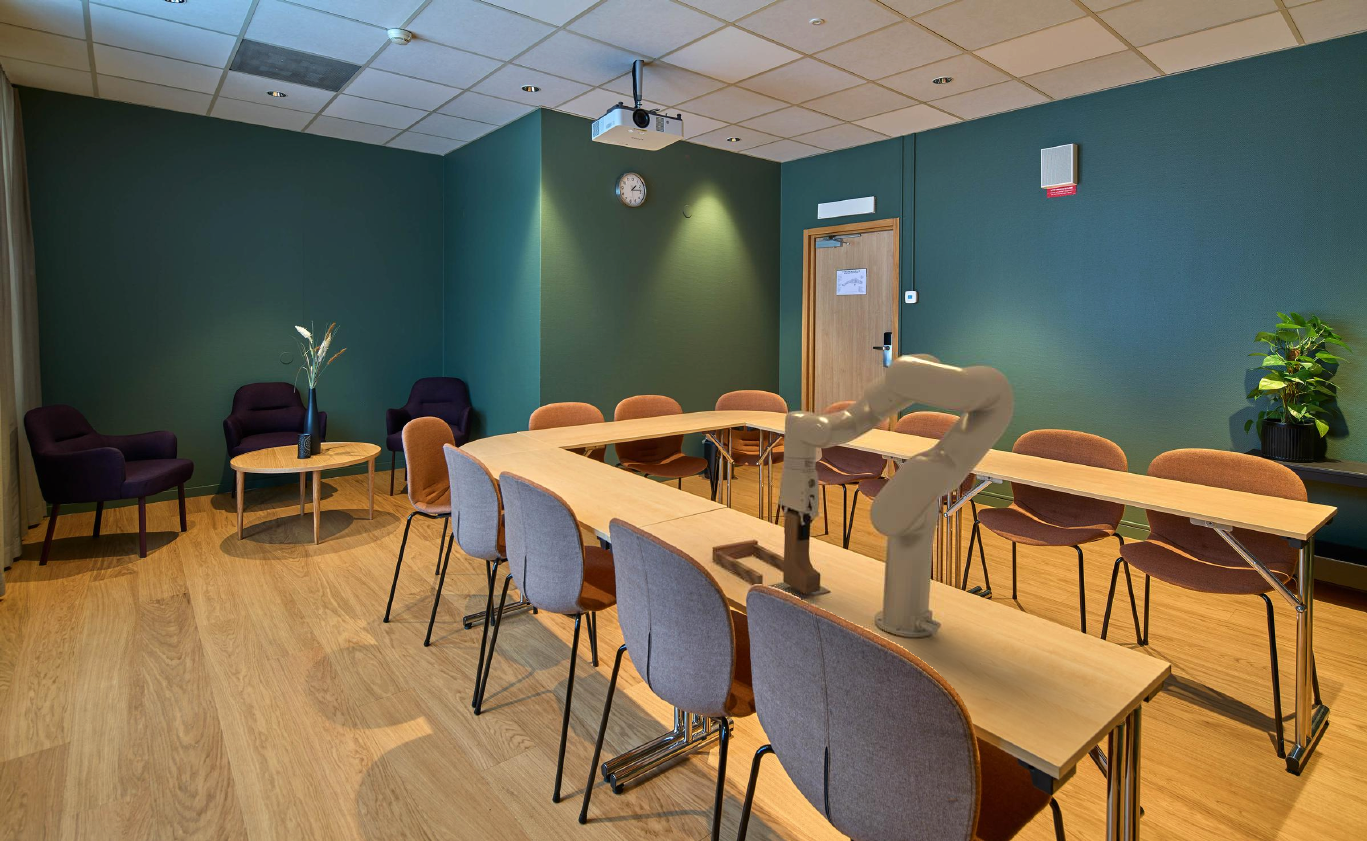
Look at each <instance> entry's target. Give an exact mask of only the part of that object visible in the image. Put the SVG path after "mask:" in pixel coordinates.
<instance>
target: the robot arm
mask: <svg viewBox="0 0 1367 841" xmlns="http://www.w3.org/2000/svg"><path fill="white" fill-rule="evenodd" d="M886 368H887V369H886V370H885V373H884V374H882V375H881V376H879V377H878V378H876V379H875V380H872V381H870V383H868V384H866V385H865V387H864V390H863V396H862V397H861V398H860V399H859V400H857V401H856V402H854V403H852V404H851V405H850V406H848V407H846V408H844V409H843V410H841V411H838V412H832V413H827V414H820V415H816V413H814V412H812V411H806V410H795V411H789V412H788V413H786V414H785V419H784V442H783V444H784V445H783V446H784V447H783V448H784V449H783V450H784V451H783V466H782V467H783V468H782V472H781V479H780V485H779V498H778V500H777V503H778V504H779V506H780V507H781V511H782V513H783V515H782V517H783V518H784V519H785V513H786V512H788V511H794V510H796V511H798V512H799V517H800V524H798V540H799V541H802V540H808V539H810V538H811V535H810V534H811V525H812V524H813V521H814V520H815V519H816V518H818V517H819V516H820V512H819V509H820V484H819V483H820V481H819V476H818V475H819V474H818V471H817V470H816V467H817V466H816V464H817V463H816V458H817V448H819V449H828V448H832V447H835V446H839V445H843V444H848V443H850V442H853V441H854V440H857V439H858V438H860V437H861V436H863V435H866V433H869V432H870V431H872V430H874V429H875V428H877V427H879V426H880V425H881V424H882V423H884V422H886V421H887V420H888V419H889V418H891V417H893V416H894V415H896V414H898V413H900V412H901V411H903V410H904V409H907V408H908V407H910V406H912V405H913V404H915V403H917V404H922V405H925V406H929V407H934V408H936V409H941V410H944V411H949V412H953V413H963V414H962V415H961V416H960V417H959V418H958V419H957V420H955V422H954V423H953V424H952V425H951V426H950V427H949V428H948V430H947V431H946V433H945V434H944V435H943V436H942V437H941V438H940V439H939V441H938V442H937V443H936V444H935V445H934V446H932V447H931V448H929V449H927V450H924V451H921V452H919V453H916V454H913V455H911V456H910V457H909V458H907V459H906V460H905V461H904V462H903V463H902V464H901V465H900V466H899V468H898V469H896V471H895V473H894V474H893V475H892V476H891V477H890V478H889V480H888V481H887V482H886V484H885V485H884V486H882V488H881V489H880V491H879V492H878V493H877V494H876V495H875V497H874V498H873V500H872V502H871V505H870V509H869V518H870V522H871V525H872V526H873V528H874V530H875V531H876V532H878V533H879V534H880V535H882V536H885V537H887V538H886V544H885V545H886V546H885V547H886V548H885V562H884V563H885V564H884V565H885V566H884V579H883V582H884V583H883V600H882V610H880V611H878V612H876V614H875V616H874V623H875V624H876V626H877V627H878V628H880V629H881V630H882V629H883V630H882V631H884V630H885V632H886V631H887V632H886V633H888V632H891V633H894V634H896V635H895V636H898V635H899V637H906V638H922V637H928V636H930V635H933V636H934V635H936V634H937V633H938V631H939V629H940V628H941V627H942V624H941V622H939V621H937V620H934V619H933V611H932V610H930V609H929V608H930V596H931V595H930V592H931V576H932V565H933V564H932V563H933V562H932V561H933V552H934V551H933V549H934V539H935V534H936V530H937V523H938V518H939V513H940V512H939V510H940V509H939V508H940V507H939V501H938V500H939V499H940V498H942V497H943V496H946V495H949V494H950V493H952V492H954V491H955V490H957V489H958V488H959V487H960V486H961V485H962V483H963V482H964V481H965V480H966V478H967V477H968V476H969V475H970V474H971V472H972V471H974V469H975V468H976V467H978V465H979V463H980V462H981V461H982V460H983V459H984V457H985V456H986V455H987V454H988V452H989V451H990V450H991V449H992V448H993V447H994V445H995V444H996V443H997V442H998V440H1000V438H1001V437H1002V435H1004V433H1005V431H1006V430H1007V428H1008V426H1009V424H1010V422H1011V419H1012V417H1013V414H1014V408H1015V398H1014V393H1013V389H1012V386H1011V384H1010V382H1009V380H1008V378H1007V377H1006V376H1005V375H1004V374H1003V372H1001V371H1000V370H999V369H996V368H994V367H992V366H988V365H987V366H986V365H975V366H973V365H972V366H967V367H966V366H965V367H959V366H954V365H948V364H945V363H944V364H943V363H942V362H941V361H940V359H938V358H937V357H935V356H934V355H931V354H927V353H915V354H905V355H901V356H898V357H897V358H895V359H894V360H893V361H891V362H890V363H889V365H888V366H887V367H886ZM804 514H807V516H806V517H805V518H804ZM783 524H784V526H783V529H784V532H783V533H784V535H785V523H783ZM891 633H890V634H891ZM894 634H893V635H894Z"/></svg>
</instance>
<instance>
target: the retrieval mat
mask: <svg viewBox="0 0 1367 841" xmlns="http://www.w3.org/2000/svg"><path fill="white" fill-rule="evenodd" d="M775 585H776V586H775ZM767 586H771V587H775V588H778V589H781V590H783V591H785V592H788V593H791V594H792V595H794V596H797V597H799V598H801V600H804V599H809V598H812V597H813V596H814V597H817V596H820V595H826V594H830V592H831V590H829V589H828V588H826V587H824V586H823V585H822V586H821V585H820V591H817V592H812V593H808V594H805V593H803V592H801V591H799V590H797V589H796V588H794V587H792V586H790V585H788V584H786V583H785V582H778V583H773V584H770V585H769V584H768V585H767Z"/></svg>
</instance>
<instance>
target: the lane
mask: <svg viewBox="0 0 1367 841" xmlns="http://www.w3.org/2000/svg"><path fill="white" fill-rule="evenodd" d="M752 555H753V556H752ZM711 556H712V560H713V561H714V563H715V562H716V563H715V564H717V563H718V564H720V565H721V566H720V565H719V566H720V567H722V568H723V567H724V569H725V568H726V569H725V570H727V571H729V572H730V571H731V572H730V573H732V572H733V573H732V574H734V575H735V574H736V575H735V576H737V575H738V576H737V577H739V576H740V577H741V579H742V578H743V579H742V580H744V579H745V580H744V581H746V580H747V581H749V582H750V583H749V582H748V583H749V584H751V583H752V584H751V585H752V586H754V584H762V585H763V583H764V582H763V580H764V575H763V574H762V573H761V572H759V571H756V570H755V569H753V568H751V567H749V566H748V565H746V564H744V563H742V562H740V561H738V560H737V558H738V559H743V558H747V557H746V556H748V557H754V558H757V559H758V560H761V561H762V560H763V561H762V562H765V563H766V562H767V564H768V563H769V564H768V565H770V564H771V565H770V566H772V567H774V568H776V569H778V570H780V571H782V572H783V571H784V556H782V555H780V554H778V553H776V552H773V551H772V550H770V549H767V548H766V547H763V546H761V545H760V544H759V542H758V540H756V539H752V540H746V541H745V540H743V541H739V542H733V543H728V544H723V545H717V546H712V555H711ZM712 560H711V561H712ZM713 561H712V562H713ZM718 564H717V565H718ZM740 577H739V578H740ZM747 581H746V582H747Z"/></svg>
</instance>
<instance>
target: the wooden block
mask: <svg viewBox="0 0 1367 841" xmlns="http://www.w3.org/2000/svg"><path fill="white" fill-rule="evenodd" d="M806 516H807V514H804V518H805V517H806ZM784 524H785V534H784V541H783V542H784V544H783V545H784V546H783V550H784V551H783V557H784V571H782V573H783V575H782V576H783V579H782V581H783V582H785V583H786V584H788V585H790V586H792V587H794V588H796V589H797V590H799V591H801V592H803V593H805V594H808V593H812V592H817V591H820V586H821V572H819V571H818V570H816V568H814V566H813V564H812V562H811V558H810V539H808V540H802V541H799V540H798V524H800V517H799V512H798V511H796V510H794V511H788V512H786V513H785V518H784Z"/></svg>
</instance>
